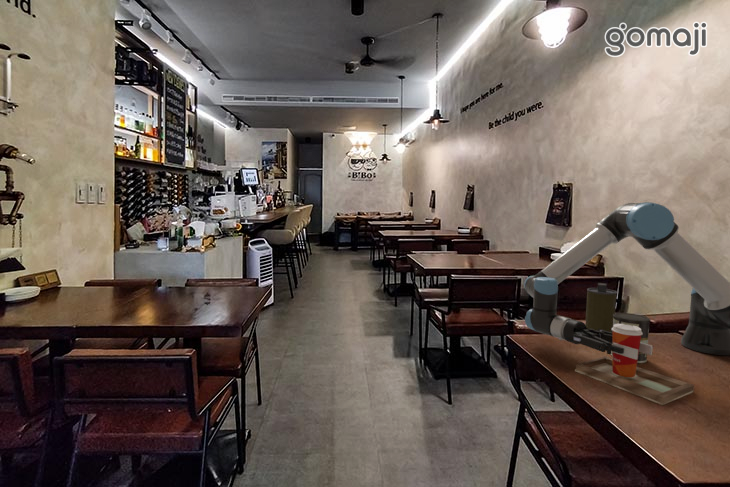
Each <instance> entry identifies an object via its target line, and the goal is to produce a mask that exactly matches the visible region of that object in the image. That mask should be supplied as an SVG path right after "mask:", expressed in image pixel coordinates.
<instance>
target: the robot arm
mask: <svg viewBox="0 0 730 487" xmlns="http://www.w3.org/2000/svg"><path fill="white" fill-rule="evenodd" d="M679 230H680V227H679V225H678V224H677V223H676V222H675V217H674V215H673V212H671V210H670V209H669V208H667V207H666V206H665V205H663V204H659V203H655V202H650V201H649V202H647V201H645V202H630V203H629V202H628V203H625V204H623V205H620V206H618V207H617V208H615V209H614V210H612V211H611V212H609V214H607V215H606V216H605V217H604V218H603V219H601V220H599V221H598V222H597V223H596V225H595V228H594V229H593V230H592V231H590V232H589V233H588V234H586V235H585V236H584V237H583V238H582V239H580V240H579V241H578V242H576V243H575V244H574V245H572V246H571V247H570V248H568V250H566V251H565V252H562V254H561V255H560V256H558V257H557V258H555V259H554V260H553V261H552V262H550V263H549V264H548V265H547V266H545V267H544V268H543V269H542V270H540V271H538V273H536V274H535V275H530V276H528V277H526V279H525V280H524V282H523V286H524V289H525V291H526V293H527V294H528V296H530V297H531V298H533V301H532V302H533V305H532V308H530V309H529V310H527V312H526V315H525V317H524V323H525V326H526V327H527V328H529V330H532V331H535V332H536V333H540V334H543V335H546V336H550V337H553V338H557V339H558V340H559V341H566V342H568V343H570V344H574V345H583V346H585V347H588V348H590V349H592V350H593V349H594V350H596V351H599V352H601V353H606V354H607V355H611V351H612V352H614V353H617V354H620V355H623V356H626V357H629V358H632V359H636V360H637V359H638V349H634V348H631V347H627V346H624V345H621V344H617V343H613V333H612V332H608V331H605V330H602V329H598V331H597V330H595V329H587V327H586V325H585V322H583V321H581V320H577V319H572V318H570V317H566V316H562V315H558V314H557V308H558V292H559V286H558V285H559V284H560V283H562V282H563V281H564V280H566V279H567V278H568V277H569V276H571V275H572V274H574V273H575V272H576V271H578V270H579V269H580V268H581V267H583V266H585V264H587V263H588V262H589V261H591V260H592V259H593V258H594V257H596V256H597V255H599V254H600V253H601V252H602V251H604V250H605V249H606V248H608V247H609V246H611V245H612V244H614V245H615V244H618V243H619V242H621V241H622V240H624V239H627V238H629V237H631V238H633V239H634V240H635V241H636V242H637V243H638V244H640V246H641V247H642V248H644V250H648V251H649V250H651V251H652V250H653V252H655V253H656V255H658V256H659V257H660V258H661V259H662V260H663V261H664V262H665V263H666V264H667V265H668V266H670V268H671V269H672V270H673V271H674V272H676V273H677V274H678V276H680V277H681V278H682V280H684V281H685V282H686V283H687V284H688V285H689V286H690V287H691V288H692V289H691V293H690V307H689V320H688V325H687V327H686V329H685V331H684V333H683V335H682V336H681V341H680V342H681V343H680V344H681V345H682V346H683V347H684V348H687V349H689V350H692V351H696V352H700V353H705V354H708V355H709V354H710V355H714V356H715V355H717V356H730V281H729V280H728V279H727V278H726V277H724V275H722V274H721V273H720V271H718V270H717V268H715V267H714V265H712V264H711V263H710V262H709V261H708V260H707V259H706V258H705V257H704V256H703V255H701V253H700V252H698V251H697V249H695V248H694V247H693V246H692V245H691V244H690V243H689V242H688V241H687V240H686V239H685V238H684V237H683V236H682V235H681V234H680V233H679ZM612 344H613V345H612ZM653 349H654V348H653V344H652V345H651V344H649V343H648V344H645V343H641V342H640V347H639V352H641V353H644V354H647V356H653Z"/></svg>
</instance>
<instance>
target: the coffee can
mask: <svg viewBox="0 0 730 487" xmlns="http://www.w3.org/2000/svg"><path fill="white" fill-rule="evenodd" d="M613 317H614V318H613V325H614V324H625V325H626V324H628V325H631V326H633V325H634V326H637V327H639V328H641V331H642V333H643V334H642V335H641V341H640V342H641V343H645V344H648V345H649V333H650V332H649V331H650V323H651V318H650V317H648V316H645V315H641V314H638V313H637V314H636V313H629V312H628V313H627V312H615V314H613ZM610 355H612V351H611V354H610ZM647 361H648V354H644V353H641V352H639V354H638V361H637V364H644V363H647Z"/></svg>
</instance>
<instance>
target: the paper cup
mask: <svg viewBox="0 0 730 487" xmlns="http://www.w3.org/2000/svg"><path fill="white" fill-rule="evenodd" d="M611 330H612V331H613V343H617V344H621V345H624V346H627V347H631V348H634V349H638V354H639V347H640V341H641V335H642V334H643V333H642V331H641V328H639V327H637V326H634V325H633V326H631V325H628V324H626V325H625V324H614V325H613V328H612V329H611ZM612 345H613V344H612ZM611 357H612V366H613V373H615V374H616V375H619V376H623V377H634V376H635V373H636V367H638V363H637V361H638V359H637V360H636V359H632V358H629V357H626V356H623V355H620V354H617V353H614V352H612V356H611Z"/></svg>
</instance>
